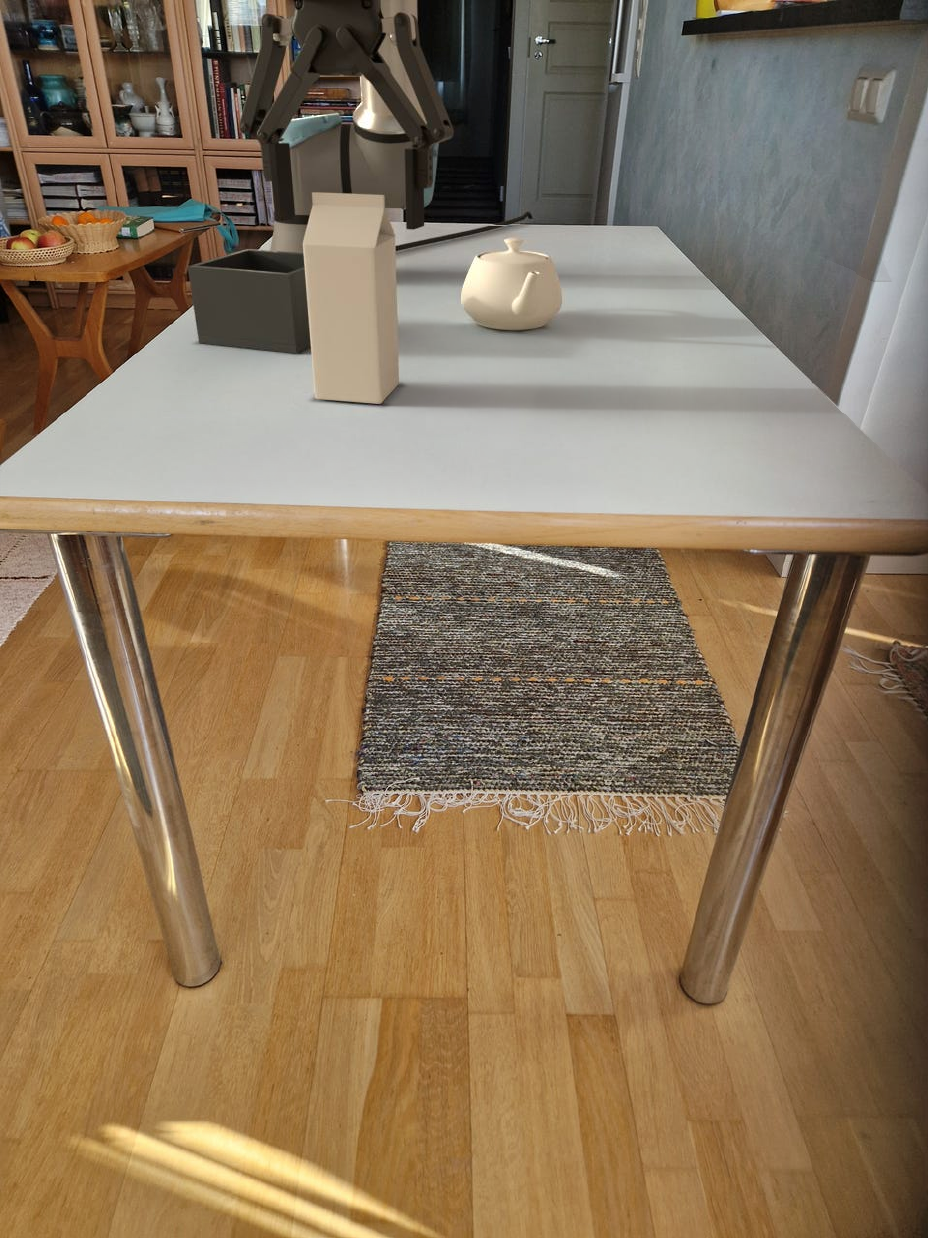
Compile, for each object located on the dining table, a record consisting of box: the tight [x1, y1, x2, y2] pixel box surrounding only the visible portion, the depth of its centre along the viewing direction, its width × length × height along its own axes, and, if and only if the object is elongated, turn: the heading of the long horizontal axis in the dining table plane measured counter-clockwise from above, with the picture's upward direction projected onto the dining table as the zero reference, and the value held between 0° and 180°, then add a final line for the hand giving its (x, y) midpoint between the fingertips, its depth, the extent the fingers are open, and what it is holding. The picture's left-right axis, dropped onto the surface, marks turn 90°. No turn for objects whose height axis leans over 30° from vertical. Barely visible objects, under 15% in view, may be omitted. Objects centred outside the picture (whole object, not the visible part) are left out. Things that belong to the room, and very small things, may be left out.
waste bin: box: [187, 248, 311, 355], centre depth 108 cm, size 14×14×9 cm
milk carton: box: [303, 192, 400, 405], centre depth 86 cm, size 7×7×19 cm
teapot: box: [460, 237, 563, 331], centre depth 115 cm, size 22×14×11 cm, turn 12°
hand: (349, 223), depth 82 cm, fingers open, 13 cm apart
